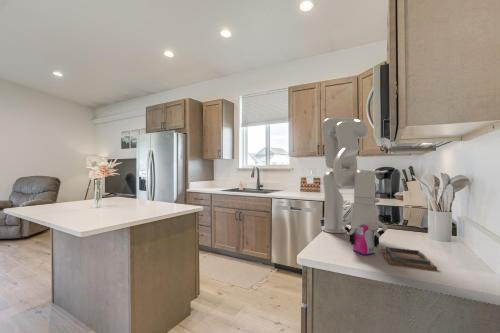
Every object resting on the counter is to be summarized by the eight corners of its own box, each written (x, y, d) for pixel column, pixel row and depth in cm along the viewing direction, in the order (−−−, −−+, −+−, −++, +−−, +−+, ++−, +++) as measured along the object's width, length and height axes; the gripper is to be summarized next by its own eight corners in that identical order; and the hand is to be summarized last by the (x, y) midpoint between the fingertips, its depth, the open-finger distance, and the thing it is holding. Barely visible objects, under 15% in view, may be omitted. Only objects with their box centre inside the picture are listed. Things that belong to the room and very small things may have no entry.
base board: (381, 251, 97) (381, 245, 97) (421, 256, 93) (421, 249, 93) (389, 264, 84) (389, 257, 84) (437, 270, 79) (437, 263, 79)
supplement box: (363, 249, 100) (363, 221, 100) (375, 254, 94) (375, 225, 94) (352, 250, 97) (352, 222, 97) (364, 255, 92) (364, 226, 92)
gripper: (386, 201, 96) (386, 244, 96) (340, 198, 102) (340, 240, 102) (391, 203, 89) (390, 251, 89) (341, 201, 95) (340, 245, 95)
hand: (363, 244), depth 95 cm, fingers closed on supplement box, 8 cm apart
